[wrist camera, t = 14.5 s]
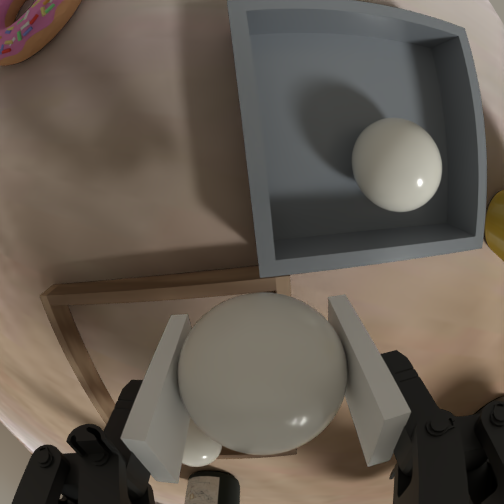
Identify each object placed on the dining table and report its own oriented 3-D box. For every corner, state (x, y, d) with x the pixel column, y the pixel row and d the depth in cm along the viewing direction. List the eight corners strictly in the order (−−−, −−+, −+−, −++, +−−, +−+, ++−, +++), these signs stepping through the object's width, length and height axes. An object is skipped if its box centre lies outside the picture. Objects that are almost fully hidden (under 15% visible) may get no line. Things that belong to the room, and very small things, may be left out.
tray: (294, 438, 30) (296, 454, 27) (130, 437, 31) (125, 450, 28) (285, 262, 22) (289, 275, 20) (53, 284, 23) (39, 295, 21)
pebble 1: (227, 435, 30) (225, 475, 24) (180, 435, 30) (172, 473, 24) (218, 406, 28) (213, 450, 22) (166, 406, 28) (154, 447, 22)
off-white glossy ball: (403, 207, 20) (463, 209, 14) (340, 215, 18) (401, 218, 13) (392, 131, 19) (450, 114, 13) (327, 127, 17) (383, 100, 12)
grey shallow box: (447, 230, 21) (482, 248, 16) (258, 250, 22) (259, 277, 17) (432, 43, 16) (464, 28, 11) (232, 31, 16) (226, 0, 12)
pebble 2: (326, 367, 13) (356, 467, 8) (208, 381, 14) (193, 482, 8) (325, 256, 11) (384, 348, 6) (178, 275, 12) (126, 374, 6)
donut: (-12, 84, 16) (-42, 82, 11) (16, -14, 11) (-7, -25, 6) (84, 43, 16) (52, 27, 11) (115, -60, 11) (97, -83, 7)
